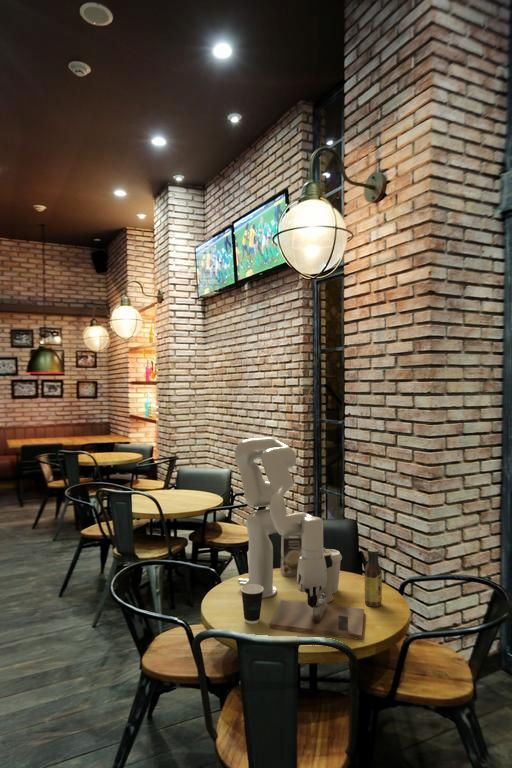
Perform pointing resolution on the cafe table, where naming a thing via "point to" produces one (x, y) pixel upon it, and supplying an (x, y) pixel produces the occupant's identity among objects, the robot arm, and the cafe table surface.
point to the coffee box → (290, 554)
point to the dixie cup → (252, 602)
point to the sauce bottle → (373, 580)
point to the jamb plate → (330, 624)
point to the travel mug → (329, 577)
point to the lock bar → (320, 608)
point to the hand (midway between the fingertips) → (312, 606)
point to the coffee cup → (335, 569)
